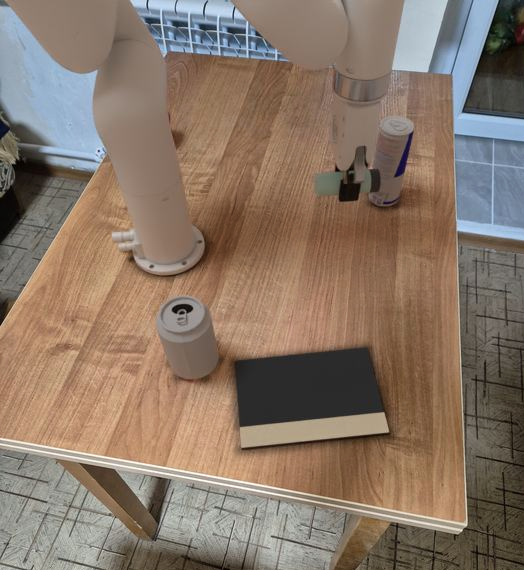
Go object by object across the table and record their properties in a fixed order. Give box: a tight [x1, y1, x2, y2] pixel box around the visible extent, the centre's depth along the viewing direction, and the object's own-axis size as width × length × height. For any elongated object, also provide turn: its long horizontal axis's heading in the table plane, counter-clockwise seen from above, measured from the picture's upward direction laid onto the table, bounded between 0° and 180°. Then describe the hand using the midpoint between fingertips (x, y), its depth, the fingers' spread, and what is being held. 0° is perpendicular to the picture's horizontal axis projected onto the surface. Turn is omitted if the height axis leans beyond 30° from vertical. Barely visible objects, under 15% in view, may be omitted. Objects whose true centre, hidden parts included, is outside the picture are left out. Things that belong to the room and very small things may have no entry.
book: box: [234, 346, 390, 450], centre depth 73 cm, size 20×14×1 cm
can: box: [155, 294, 220, 380], centre depth 72 cm, size 8×8×12 cm
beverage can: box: [368, 115, 415, 208], centre depth 89 cm, size 6×6×15 cm
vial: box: [313, 168, 381, 198], centre depth 82 cm, size 10×4×4 cm, turn 95°
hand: (345, 190), depth 83 cm, fingers closed on vial, 3 cm apart
